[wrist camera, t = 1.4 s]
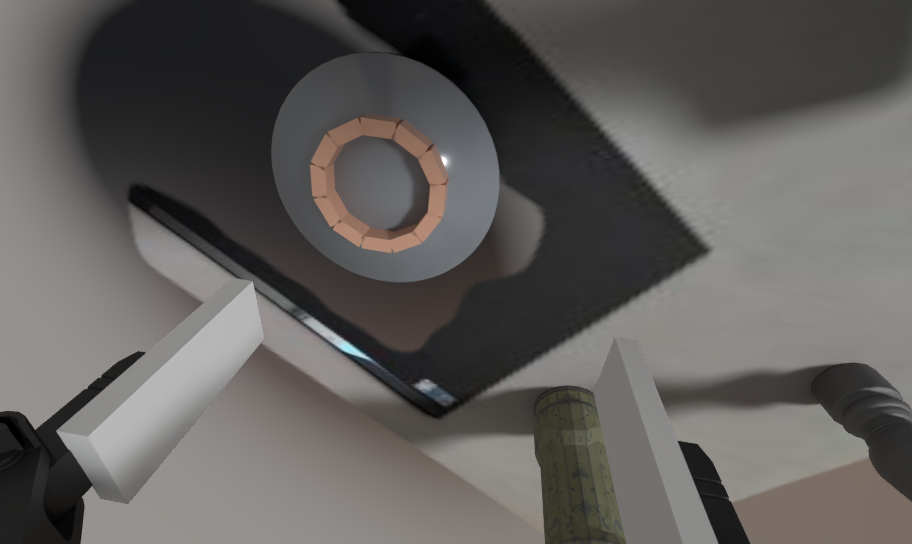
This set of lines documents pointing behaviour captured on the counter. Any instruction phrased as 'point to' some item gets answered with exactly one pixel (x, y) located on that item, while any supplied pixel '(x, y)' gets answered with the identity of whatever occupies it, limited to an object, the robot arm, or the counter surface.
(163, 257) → the counter surface
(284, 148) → the ring tray
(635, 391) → the robot arm
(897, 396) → the candle holder
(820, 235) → the counter surface
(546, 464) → the thermos
